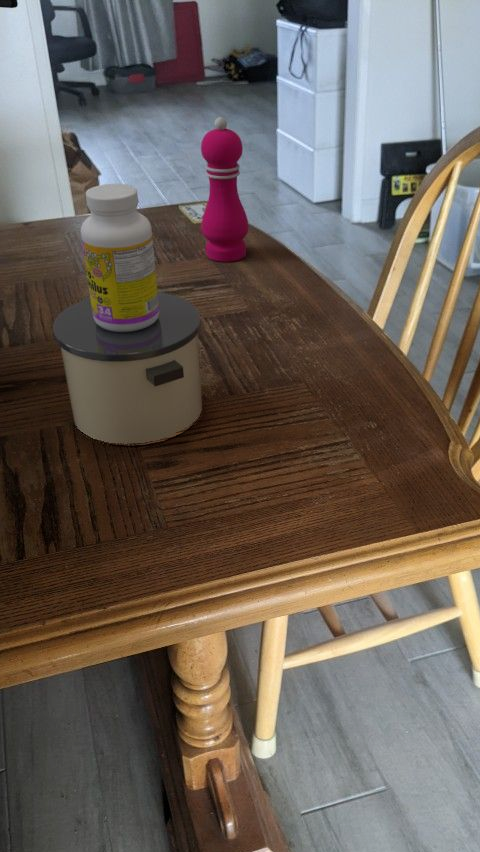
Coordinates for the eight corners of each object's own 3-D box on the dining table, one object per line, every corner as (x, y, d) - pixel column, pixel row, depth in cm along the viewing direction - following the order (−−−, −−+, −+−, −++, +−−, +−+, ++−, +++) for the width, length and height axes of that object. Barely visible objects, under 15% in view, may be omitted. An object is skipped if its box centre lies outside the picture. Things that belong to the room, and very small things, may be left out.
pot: (109, 471, 77) (93, 374, 70) (45, 397, 88) (27, 308, 81) (236, 424, 83) (233, 332, 77) (162, 361, 94) (154, 276, 88)
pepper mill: (194, 259, 121) (185, 120, 109) (216, 243, 126) (210, 109, 114) (235, 266, 118) (231, 125, 106) (256, 250, 124) (254, 114, 112)
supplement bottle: (86, 313, 80) (66, 185, 73) (147, 301, 83) (134, 176, 75) (104, 340, 76) (85, 206, 68) (169, 326, 78) (157, 195, 70)
